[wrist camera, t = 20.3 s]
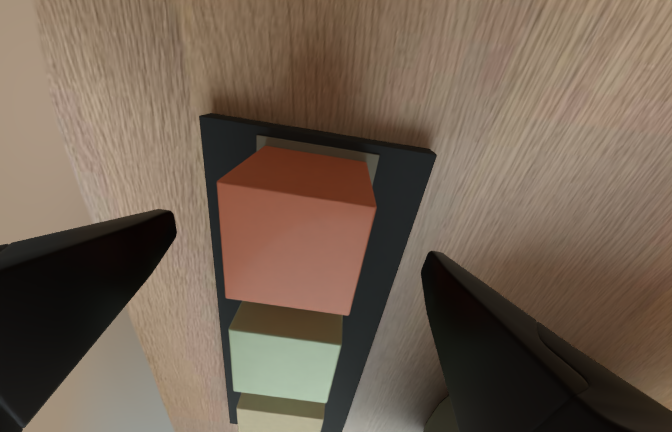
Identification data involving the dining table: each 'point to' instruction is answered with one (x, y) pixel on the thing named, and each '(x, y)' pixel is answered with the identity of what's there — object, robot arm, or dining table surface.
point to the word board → (376, 272)
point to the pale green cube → (284, 351)
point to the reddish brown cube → (295, 229)
